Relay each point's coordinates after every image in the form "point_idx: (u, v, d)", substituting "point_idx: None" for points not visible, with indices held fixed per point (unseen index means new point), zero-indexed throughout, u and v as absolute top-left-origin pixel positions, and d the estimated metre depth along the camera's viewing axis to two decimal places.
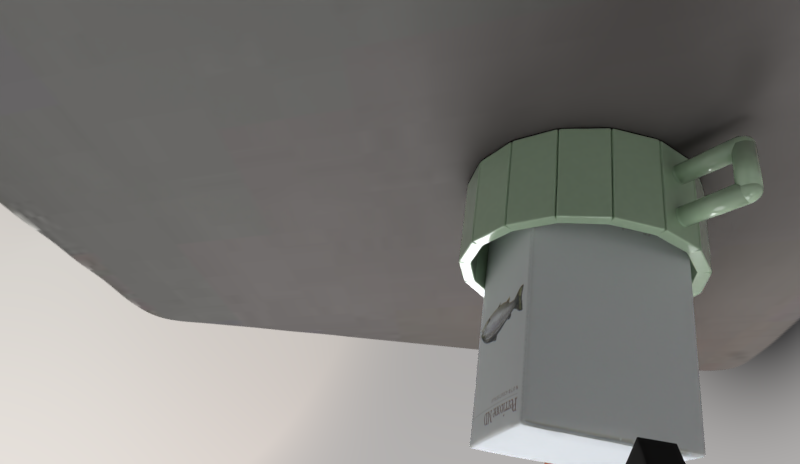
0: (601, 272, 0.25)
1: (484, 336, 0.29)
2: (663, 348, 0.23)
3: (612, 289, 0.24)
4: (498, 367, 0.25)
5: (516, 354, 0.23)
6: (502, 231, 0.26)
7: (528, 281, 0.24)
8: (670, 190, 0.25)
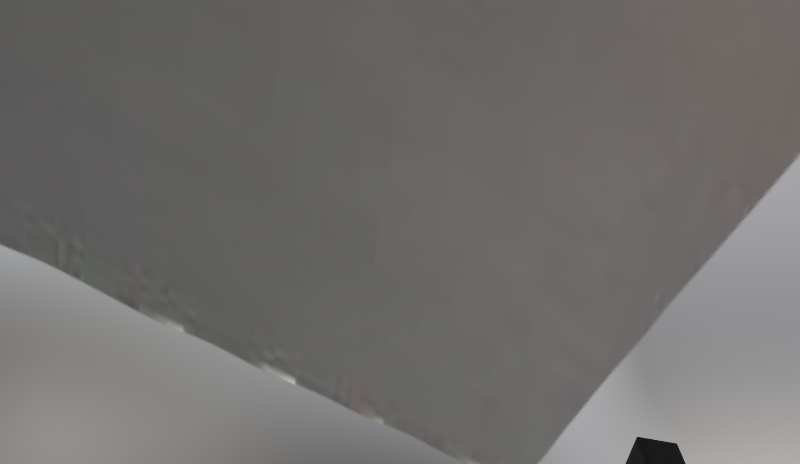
0: None
1: None
2: None
3: None
4: None
5: None
6: None
7: None
8: None
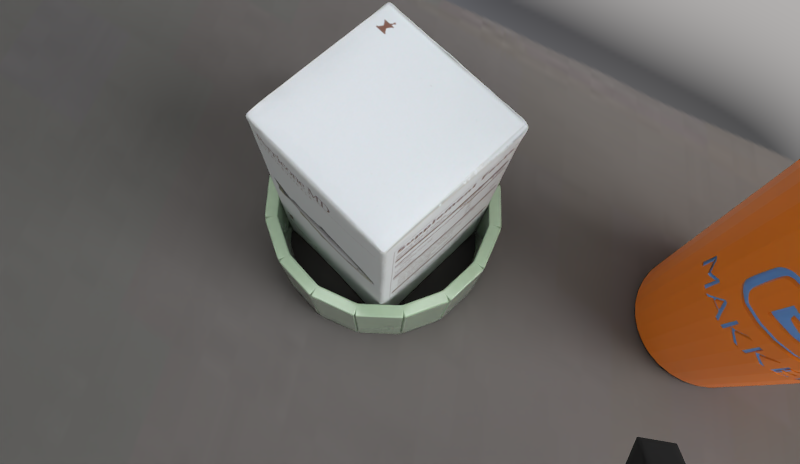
0: None
1: (361, 271, 0.24)
2: None
3: None
4: (303, 199, 0.23)
5: (271, 164, 0.23)
6: (272, 224, 0.28)
7: (272, 179, 0.26)
8: None
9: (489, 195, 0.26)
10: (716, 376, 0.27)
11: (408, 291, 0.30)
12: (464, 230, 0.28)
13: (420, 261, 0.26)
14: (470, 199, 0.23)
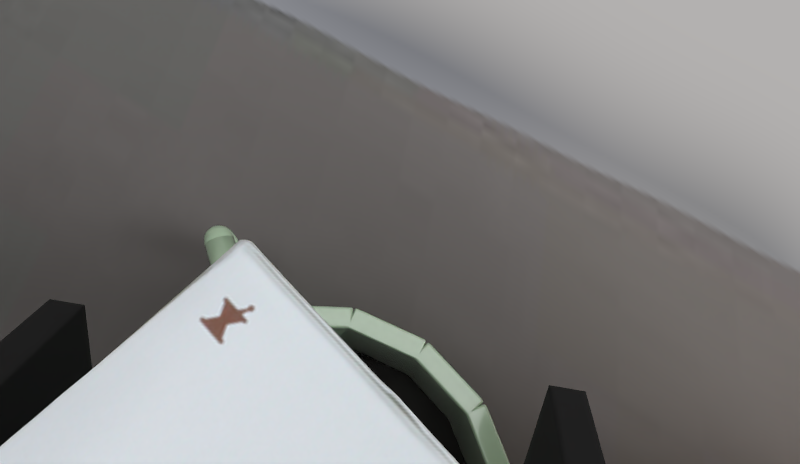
0: None
1: None
2: None
3: None
4: None
5: None
6: None
7: None
8: None
9: None
10: None
11: None
12: None
13: None
14: None
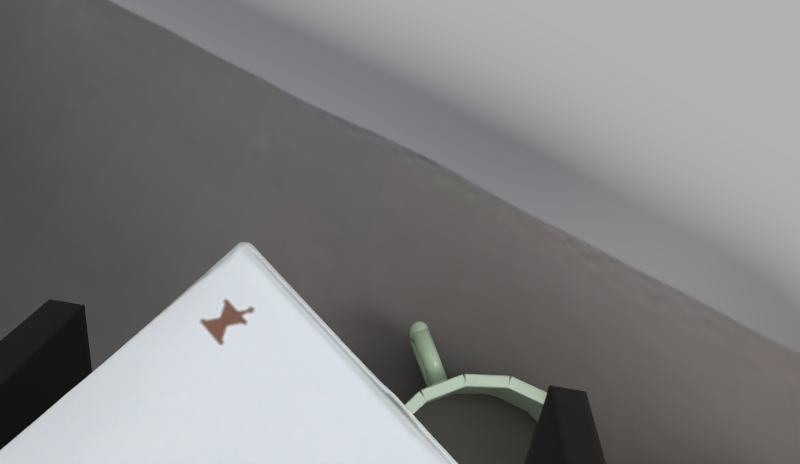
0: None
1: None
2: None
3: None
4: None
5: None
6: None
7: None
8: None
9: None
10: None
11: None
12: None
13: None
14: None
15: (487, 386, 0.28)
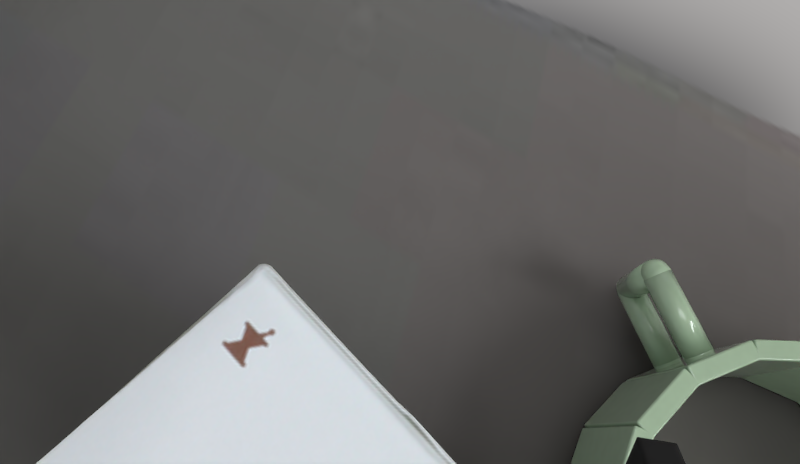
0: None
1: None
2: None
3: None
4: None
5: None
6: None
7: None
8: (665, 368, 0.19)
9: None
10: None
11: None
12: None
13: None
14: None
15: (795, 359, 0.17)
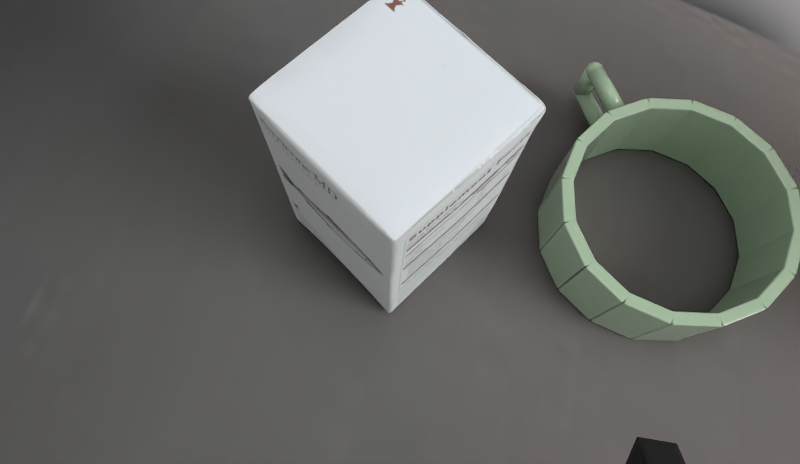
0: None
1: (370, 261, 0.23)
2: None
3: None
4: (309, 187, 0.22)
5: (275, 150, 0.22)
6: (573, 229, 0.27)
7: None
8: None
9: (502, 182, 0.25)
10: None
11: (417, 283, 0.29)
12: (475, 219, 0.27)
13: (431, 251, 0.25)
14: (484, 185, 0.22)
15: (671, 108, 0.29)
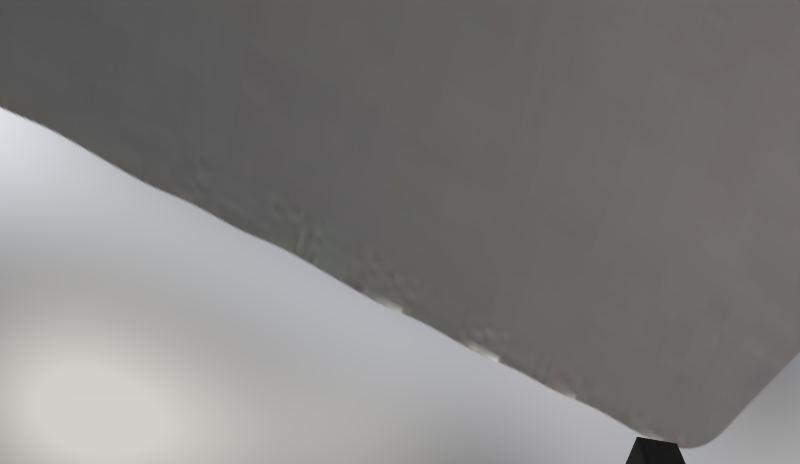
0: None
1: None
2: None
3: None
4: None
5: None
6: None
7: None
8: None
9: None
10: None
11: None
12: None
13: None
14: None
15: None
